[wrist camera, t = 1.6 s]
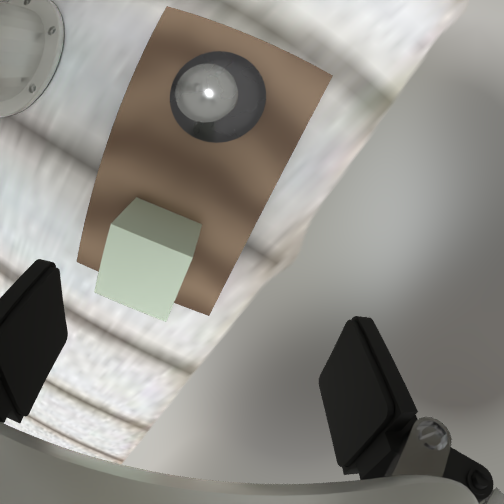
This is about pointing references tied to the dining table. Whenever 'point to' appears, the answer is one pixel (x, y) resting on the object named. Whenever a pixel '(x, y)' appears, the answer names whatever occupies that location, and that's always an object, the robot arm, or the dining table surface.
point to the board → (203, 141)
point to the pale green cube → (147, 258)
